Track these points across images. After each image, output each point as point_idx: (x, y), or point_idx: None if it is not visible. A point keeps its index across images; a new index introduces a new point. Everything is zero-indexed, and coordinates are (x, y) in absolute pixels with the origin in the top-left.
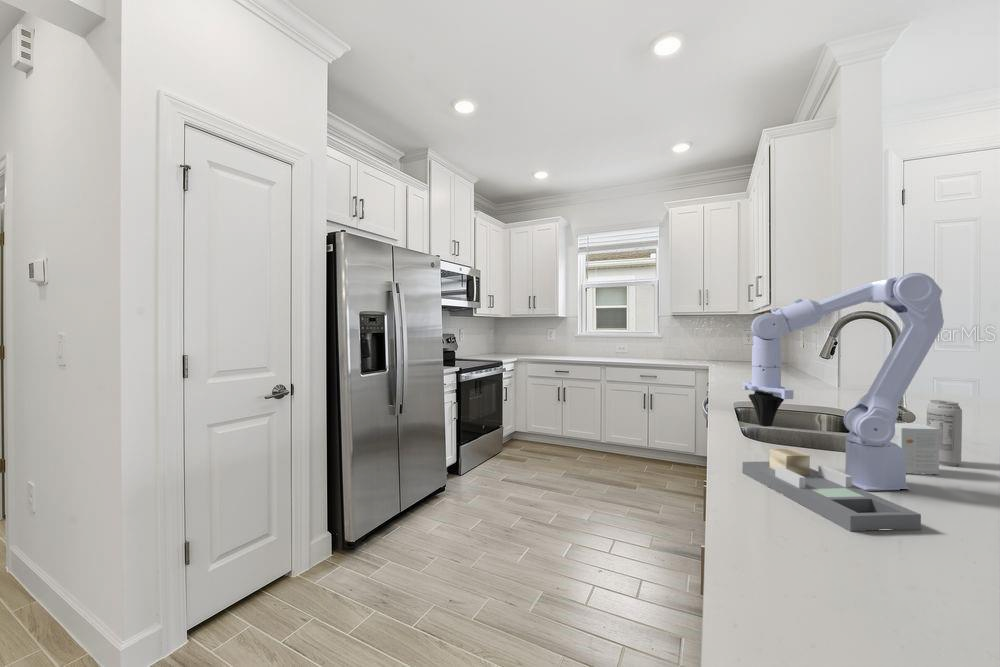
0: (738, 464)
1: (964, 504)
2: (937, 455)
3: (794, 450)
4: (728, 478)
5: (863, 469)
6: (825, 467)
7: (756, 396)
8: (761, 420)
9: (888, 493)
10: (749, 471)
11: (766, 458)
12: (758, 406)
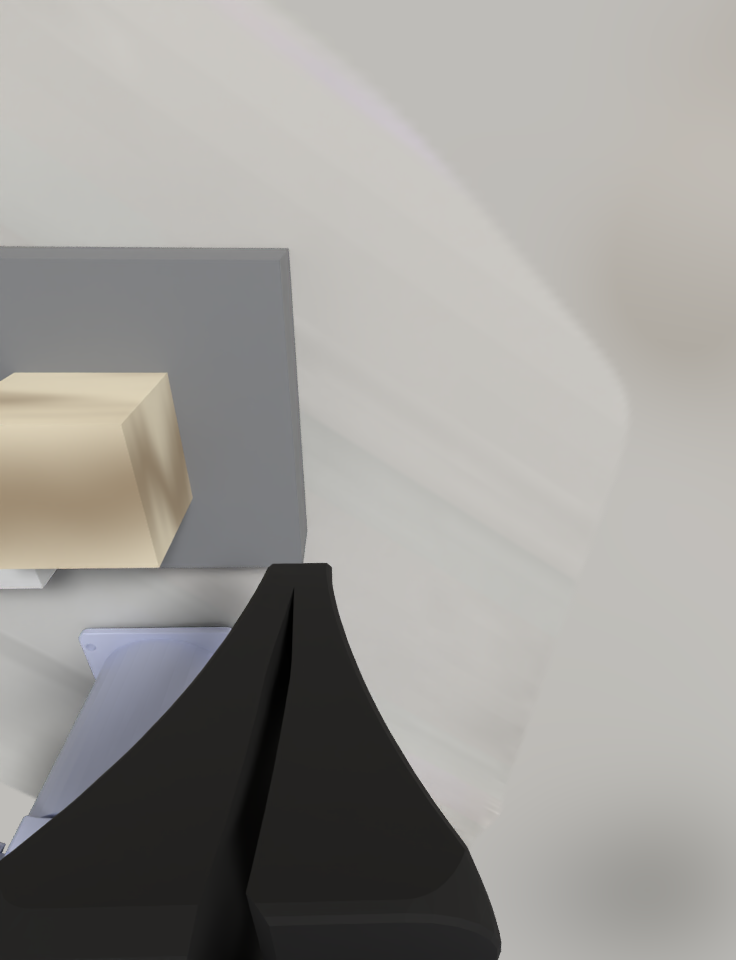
0: (456, 333)
1: (32, 765)
2: None
3: (115, 557)
4: (161, 48)
5: (90, 704)
6: (8, 576)
7: (113, 926)
8: (265, 595)
9: (82, 671)
10: (206, 252)
11: (526, 544)
12: (247, 729)
